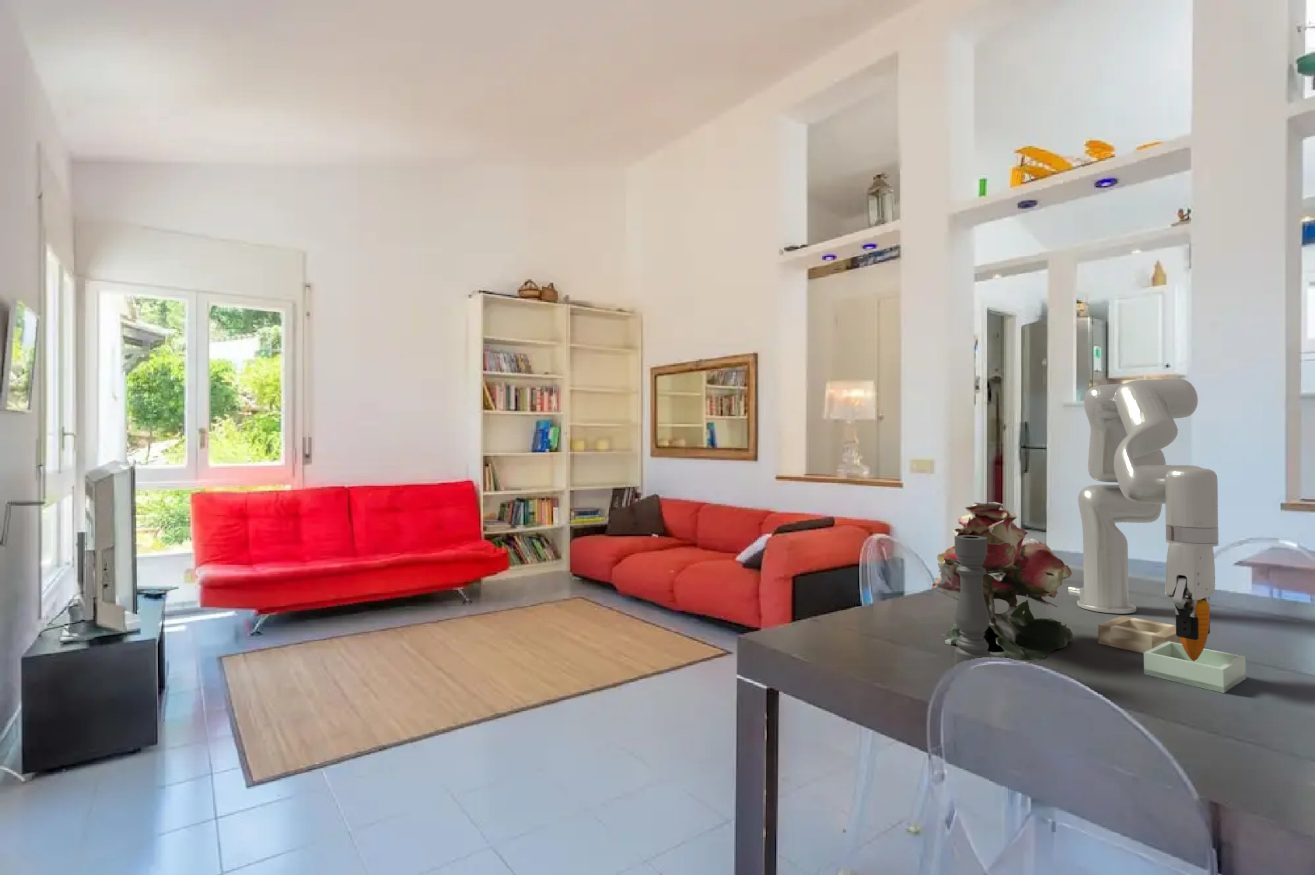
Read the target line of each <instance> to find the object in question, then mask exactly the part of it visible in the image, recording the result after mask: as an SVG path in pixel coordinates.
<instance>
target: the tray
mask: <svg viewBox="0 0 1315 875" xmlns="http://www.w3.org/2000/svg"><path fill="white" fill-rule="evenodd" d="M1246 671H1247V670H1246V656H1244V655H1240V654H1239V655H1238V654H1234V653H1230V652H1225V651H1219V650H1215V649H1208V648H1205V647H1204V649H1203V651H1202V653H1201V654H1200V656H1199V657H1198V659H1197V660H1195V661H1192V660H1191V659H1190V658H1189V656H1188V655H1187V653H1186V651H1185V650H1184V647H1183V645H1182V644H1179V643H1174V642H1169V641H1168V642H1166V643H1163V644H1161V645H1159V646H1157V647H1155V648H1152V649H1150V650H1148V651H1146V652H1144V653H1143V675H1146V676H1151V677H1155V678H1159V679H1163V680H1166V681H1167V680H1168V681H1170V682H1175V683H1180V684H1184V685H1188V686H1192V687H1196V688H1200V689H1205V690H1209V691H1212V692H1218V693H1222V694H1224V693H1226V692H1228V691H1229V690H1231V689H1233V688H1234V687H1235V686H1237V685H1239V684H1240V683H1241V682H1243V681H1244V680H1245V681H1246V679H1247V676H1246Z"/></svg>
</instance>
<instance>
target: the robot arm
mask: <svg viewBox="0 0 1315 875" xmlns="http://www.w3.org/2000/svg"><path fill="white" fill-rule="evenodd" d="M1198 402H1199V399H1198V392H1197V391H1196V389H1195V387H1194V386H1193V384H1192V383H1191V382H1189V380H1186V379H1184V378H1183V379H1182V378H1158V379H1157V378H1154V379H1152V378H1151V379H1150V378H1149V379H1134V380H1131V381H1127V382H1125V383H1110V384H1100V385H1095V386H1091V387H1090V388H1089V389H1087V391H1086V393H1085V396H1084V402H1083V404H1084V411H1085V414H1086V417H1087V420H1088V422H1089V428H1090V433H1089V434H1090V437H1089V448H1088V460H1087V463H1088V464H1087V469H1088V473H1089V474H1088V475H1089V476H1090V478H1091V479H1093V480H1095V481H1097V482H1101V483H1102V482H1103V483H1117V484H1092V485H1089V486H1086V487H1083V488H1082V489H1081V490H1080V491H1079V493H1078V496H1077V497H1078V498H1077V501H1078V509H1079V512H1080V519H1081V524H1082V546H1083V547H1082V550H1083V552H1082V553H1083V554H1082V555H1083V558H1082V559H1083V586H1082V587H1077V586H1076V587H1075V586H1068V588H1067V594H1068V595H1070V596H1077V597H1078V598H1079V599H1077V600H1076V604H1077V606H1078V607H1079V608H1082V609H1084V610H1088V611H1091V612H1092V611H1093V612H1097V613H1098V612H1099V613H1105V614H1116V615H1118V614H1119V615H1120V614H1125V615H1126V614H1133V613H1136V612H1137V606H1136V605H1135V604H1134V603H1132V602H1131V603H1130V602H1129V601H1130V600H1129V552H1128V551H1129V547H1128V546H1129V545H1128V544H1129V543H1128V540H1127V537H1126V535H1125V533H1124V532H1122V531H1121V530H1120V529H1119V527H1118V526H1117V525H1116V524H1117V523H1119V524H1121V523H1129V524H1131V523H1132V524H1133V523H1135V524H1136V523H1137V524H1142V523H1143V524H1144V523H1145V524H1148V523H1154V522H1155V521H1157V520H1158V519H1159V518H1160V515H1161V513H1162V507H1163V505H1164V504H1165V506H1164V507H1165V543H1167V544H1168V546H1167V552H1166V553H1167V554H1166V562H1165V563H1166V565H1165V580H1164V581H1165V582H1164V583H1165V586H1164V587H1165V589H1164V593H1165V595H1166V597H1168V598H1172V602H1173V605H1174V607H1175V612H1174V614H1175V625H1176V635H1177V636H1178V637H1182V638H1187V639H1193V640H1197V639H1199V621H1198V617H1196V609H1197V601H1198V600H1204V601H1206V602H1207V603H1208V604H1209V606H1210V597H1211V596H1212V595H1214V593H1215V591H1216V590H1215V589H1216V567H1215V566H1216V565H1215V556H1214V555H1215V554H1214V547H1218V546H1219V499H1218V498H1219V497H1218V496H1219V495H1218V494H1219V493H1218V492H1219V490H1218V489H1219V488H1218V486H1219V485H1218V475H1217V473H1216V472H1215V471H1214V470H1212V469H1209V468H1204V467H1203V468H1202V467H1200V466H1198V465H1183V464H1182V465H1181V464H1180V465H1176V464H1173V465H1172V464H1167V462H1166V457H1165V455H1164V452H1163V450H1162V449H1164V448H1166V447H1168V446H1169V445H1171V444H1172V443H1173V442H1174V441H1175V440H1176V438H1177V436H1178V430H1179V429H1178V426H1177V424H1176V422H1175V420H1174V419H1182V418H1183V419H1184V418H1188V417H1189V416H1192V415H1193V414H1194V413H1195V411H1196V409H1197V408H1198V407H1197V406H1198ZM1206 588H1207V590H1206ZM1188 596H1192V597H1191V598H1192V599H1187V598H1185V597H1188ZM1186 602H1188V603H1191V608H1190V606H1189V604H1187V603H1186ZM1210 623H1211V620H1209V631H1208V635H1209V634H1210V633H1211V624H1210Z"/></svg>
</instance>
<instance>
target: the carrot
mask: <svg viewBox="0 0 1315 875" xmlns="http://www.w3.org/2000/svg"><path fill="white" fill-rule="evenodd" d="M1206 590H1207V588H1206ZM1191 597H1192V596H1185V598H1187V599H1192V598H1191ZM1186 603H1187V604H1189V606H1190V608H1191V603H1188V602H1186ZM1209 605H1210V603H1209V604H1208V603H1207V602H1206V601H1204V600H1198V601H1197V609H1196V617H1198V621H1199V639H1197V640H1193V639H1187V638H1182V637H1180V639H1181V643H1182V645H1183V647H1184V650H1185V651H1186V653H1187V655H1188V656H1189V658H1190V659H1191V660H1192V661H1195V660H1197V659H1198V657H1199V656H1200V654H1201V653H1202V651H1203V649H1204V648H1205V646H1206V645H1207V644H1206V643H1207V641H1208V635H1209V634H1208V631H1209V620H1210V619H1211V616H1210V615H1211V614H1210V612H1211V607H1210V606H1209ZM1210 621H1211V620H1210Z"/></svg>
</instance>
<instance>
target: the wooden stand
mask: <svg viewBox="0 0 1315 875" xmlns="http://www.w3.org/2000/svg"><path fill="white" fill-rule="evenodd" d="M1097 631H1098V636H1097V638H1098V639H1097V640H1098V644H1100V645H1103V646H1104V645H1105V646H1108V647H1109V646H1110V647H1114V648H1118V649H1123V650H1128V651H1132V652H1136V653H1140V654H1144V652H1146V651H1148V650H1150V649H1152V648H1155V647H1157V646H1159V645H1161V644H1163V643H1166V642H1168V641H1169V642H1174V643H1179V644H1182V643H1181V639H1180V637H1178V636H1177V635H1176V624H1170V623H1166V622H1165V623H1163V622H1159V621H1155V620H1154V621H1153V620H1147V619H1142V618H1136V617H1131V616H1125V615H1121V616H1118V617H1115V618H1112V619H1110V620H1107V621H1104V622H1101V623H1099V624H1097Z"/></svg>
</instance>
